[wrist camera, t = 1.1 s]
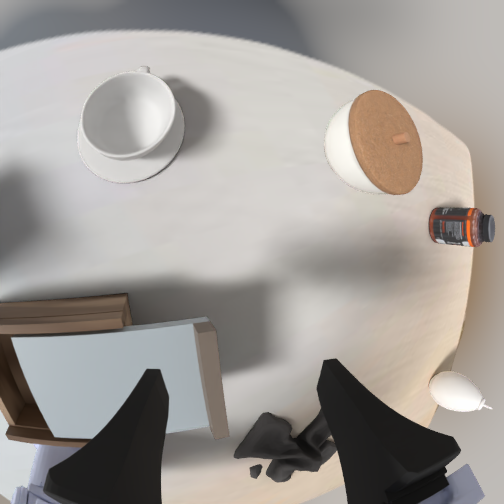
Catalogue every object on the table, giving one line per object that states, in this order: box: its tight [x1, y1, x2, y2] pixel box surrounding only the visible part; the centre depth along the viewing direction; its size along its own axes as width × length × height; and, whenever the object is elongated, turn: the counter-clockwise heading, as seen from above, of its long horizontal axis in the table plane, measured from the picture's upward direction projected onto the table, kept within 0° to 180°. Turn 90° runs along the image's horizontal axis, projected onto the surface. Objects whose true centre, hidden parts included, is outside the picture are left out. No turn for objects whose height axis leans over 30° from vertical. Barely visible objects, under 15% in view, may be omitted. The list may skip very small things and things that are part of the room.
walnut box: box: [0, 293, 133, 448], centre depth 17 cm, size 12×16×6 cm
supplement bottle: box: [429, 208, 495, 247], centre depth 32 cm, size 6×6×11 cm
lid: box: [11, 316, 230, 440], centre depth 16 cm, size 10×16×3 cm, turn 93°
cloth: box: [234, 408, 337, 482], centre depth 29 cm, size 22×19×6 cm
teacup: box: [77, 66, 185, 183], centre depth 18 cm, size 10×10×5 cm
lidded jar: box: [324, 90, 423, 195], centre depth 24 cm, size 11×11×9 cm
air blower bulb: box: [429, 371, 492, 412], centre depth 36 cm, size 8×8×18 cm
